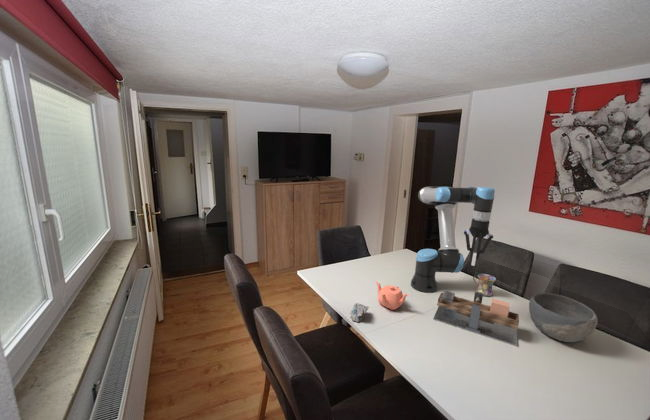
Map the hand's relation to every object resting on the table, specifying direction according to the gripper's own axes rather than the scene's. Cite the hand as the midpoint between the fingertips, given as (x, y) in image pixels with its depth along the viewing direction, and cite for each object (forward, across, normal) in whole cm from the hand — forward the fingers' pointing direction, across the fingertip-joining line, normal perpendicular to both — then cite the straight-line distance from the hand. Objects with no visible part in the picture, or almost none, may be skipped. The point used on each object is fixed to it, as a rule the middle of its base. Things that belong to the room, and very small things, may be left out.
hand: (473, 264), depth 142 cm
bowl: (+27, +38, +5) cm, 47 cm away
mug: (+28, +6, +29) cm, 41 cm away
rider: (+20, +14, -8) cm, 25 cm away
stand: (+27, +5, -8) cm, 28 cm away
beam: (+23, +5, -8) cm, 24 cm away
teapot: (+27, -35, -18) cm, 48 cm away
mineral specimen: (+27, -44, -36) cm, 63 cm away
